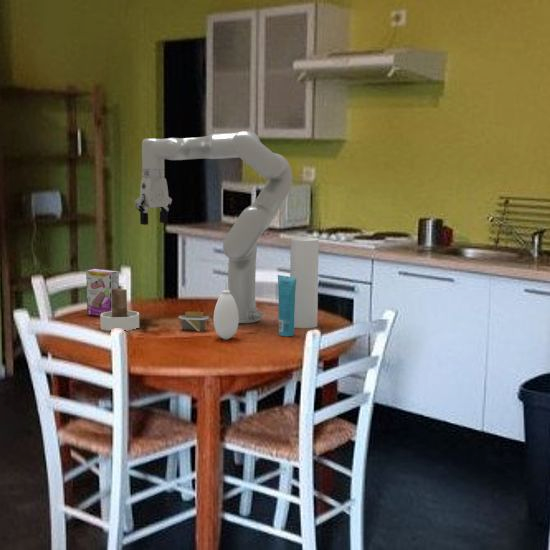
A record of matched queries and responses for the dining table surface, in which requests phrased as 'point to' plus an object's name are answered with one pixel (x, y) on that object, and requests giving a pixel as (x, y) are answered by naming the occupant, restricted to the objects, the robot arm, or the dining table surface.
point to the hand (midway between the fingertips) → (154, 223)
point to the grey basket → (194, 321)
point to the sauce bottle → (226, 315)
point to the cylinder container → (305, 280)
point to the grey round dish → (119, 321)
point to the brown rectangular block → (119, 302)
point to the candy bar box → (100, 290)
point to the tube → (286, 304)
